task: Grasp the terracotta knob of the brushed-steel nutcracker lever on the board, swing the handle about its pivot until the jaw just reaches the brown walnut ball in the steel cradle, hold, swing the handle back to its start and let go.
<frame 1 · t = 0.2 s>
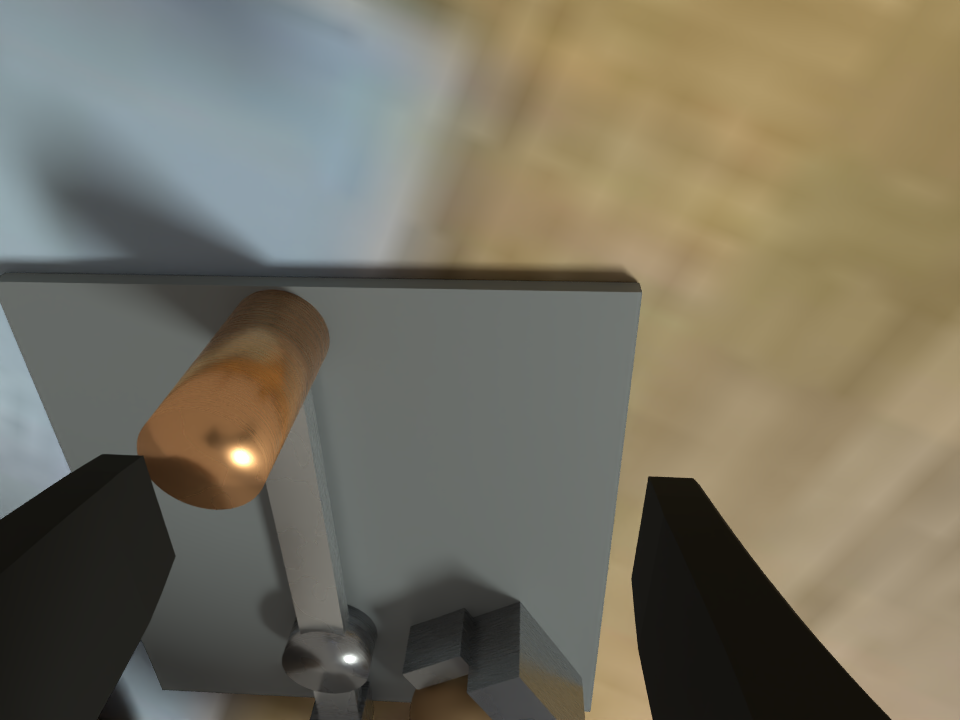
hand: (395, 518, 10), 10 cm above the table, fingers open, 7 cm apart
lever: (297, 611, 22), point 3 cm above the table, hinge at 0.0°
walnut: (462, 669, 27), point 1 cm above the table, touching board
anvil: (529, 648, 26), resting on board
board: (350, 524, 24), on the table
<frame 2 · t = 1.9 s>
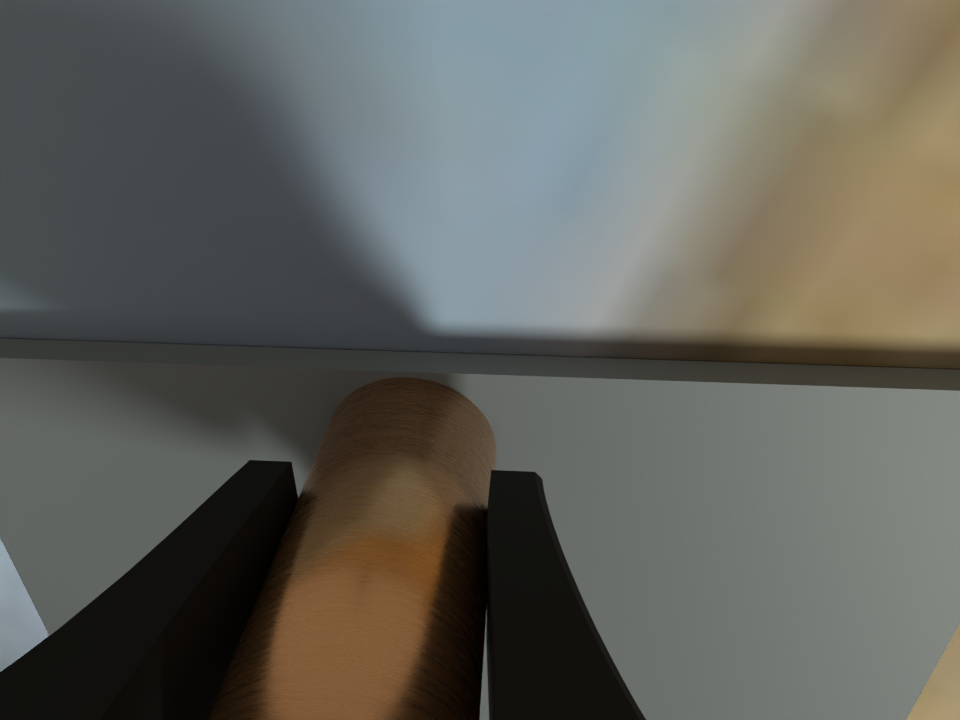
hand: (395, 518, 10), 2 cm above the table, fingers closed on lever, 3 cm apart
board: (475, 705, 16), on the table
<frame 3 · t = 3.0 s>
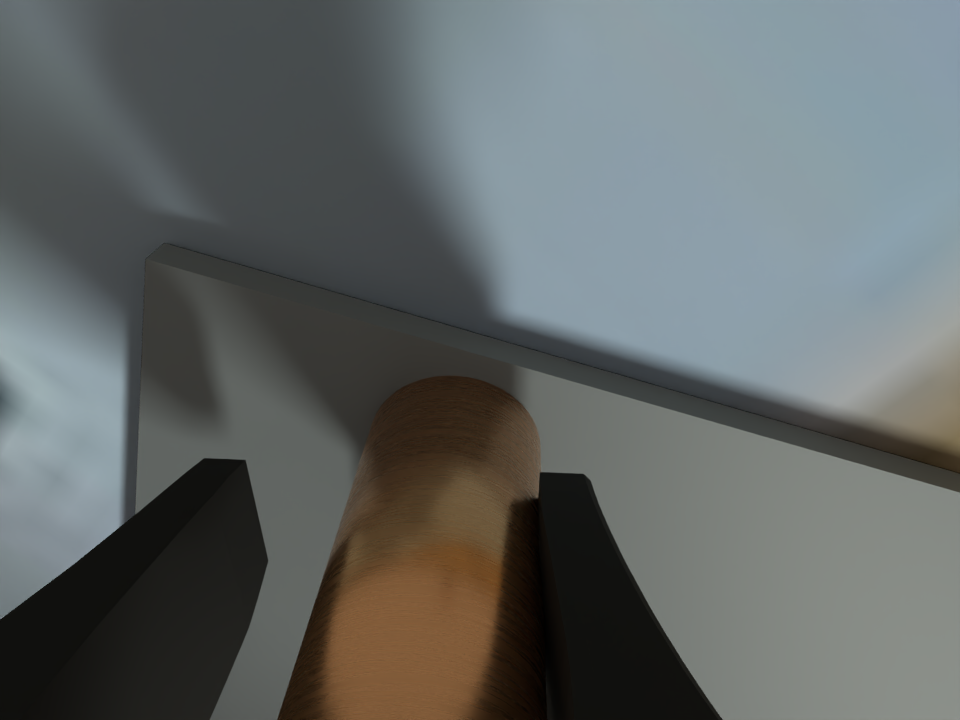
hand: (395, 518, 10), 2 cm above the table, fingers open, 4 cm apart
board: (529, 717, 16), on the table
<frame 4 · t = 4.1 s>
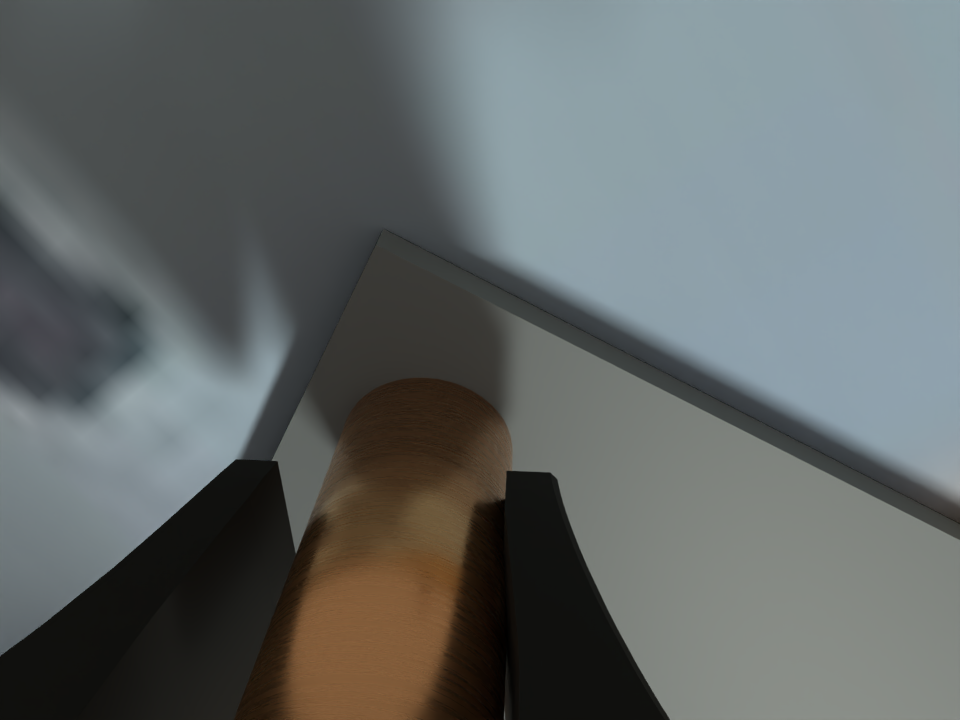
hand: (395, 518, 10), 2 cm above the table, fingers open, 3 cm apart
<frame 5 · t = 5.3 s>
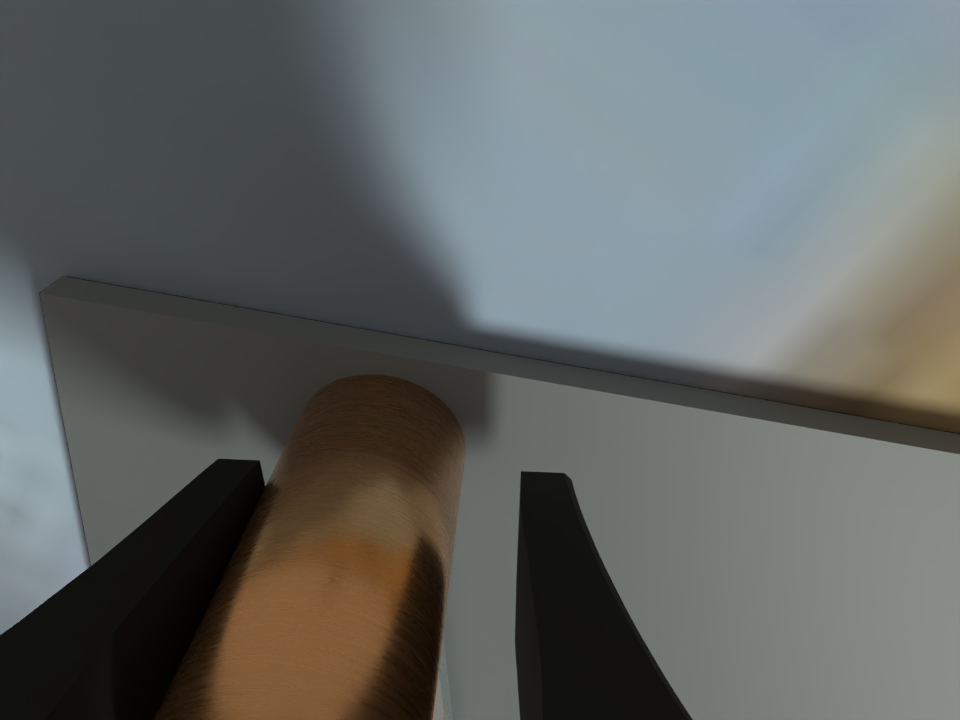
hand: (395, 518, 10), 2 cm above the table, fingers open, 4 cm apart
board: (513, 711, 16), on the table
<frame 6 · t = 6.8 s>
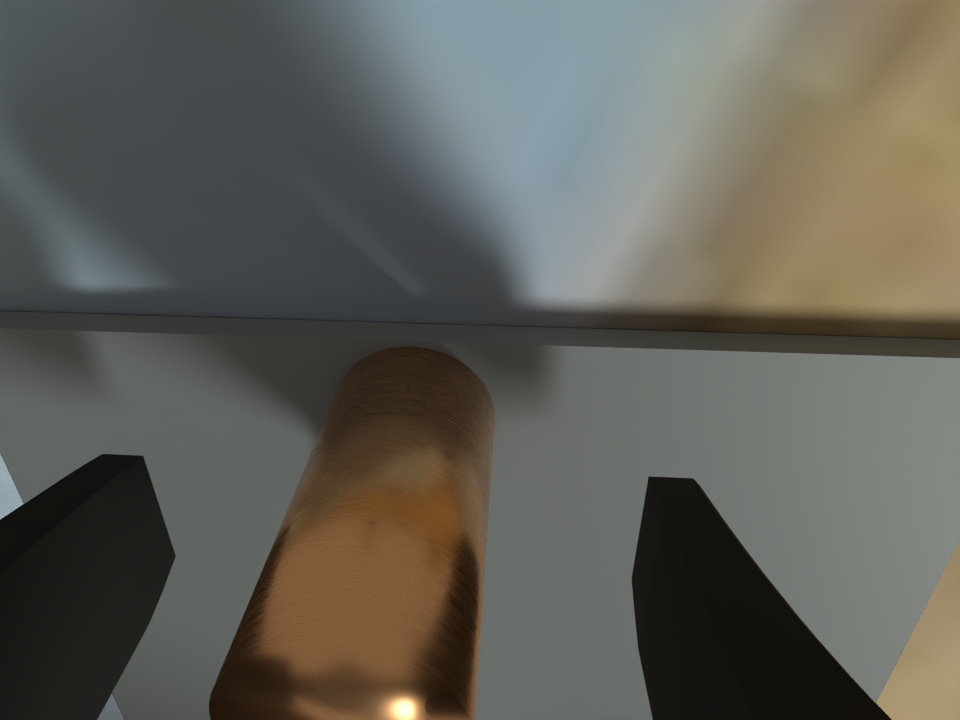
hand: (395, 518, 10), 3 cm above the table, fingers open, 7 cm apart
board: (476, 669, 17), on the table
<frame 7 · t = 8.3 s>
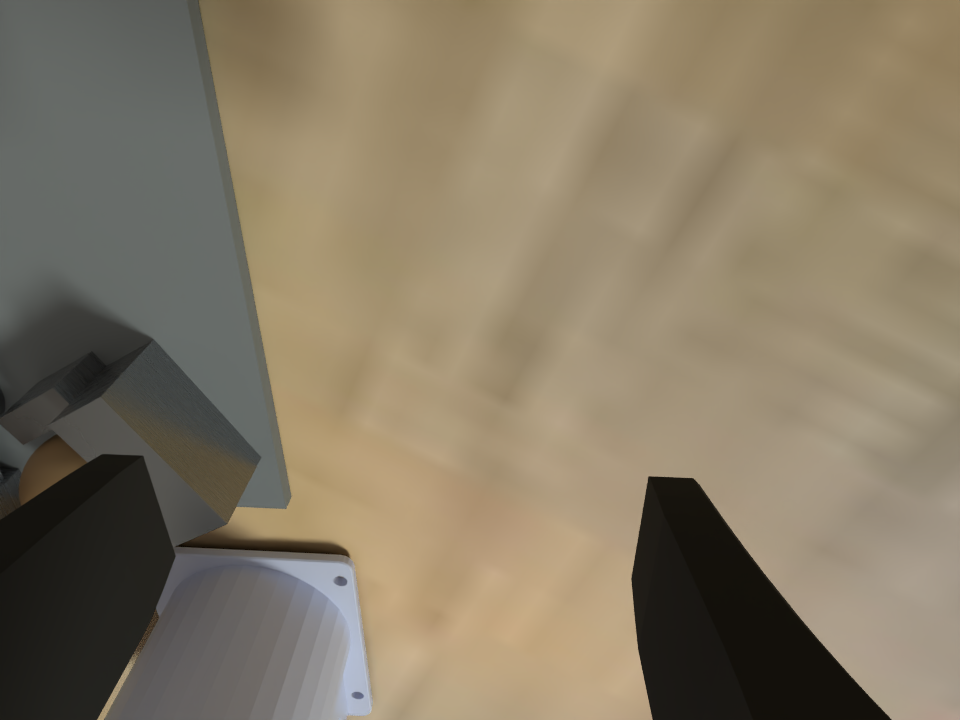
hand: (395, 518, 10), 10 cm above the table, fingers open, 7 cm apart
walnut: (119, 447, 23), point 1 cm above the table, touching board
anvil: (186, 413, 22), resting on board
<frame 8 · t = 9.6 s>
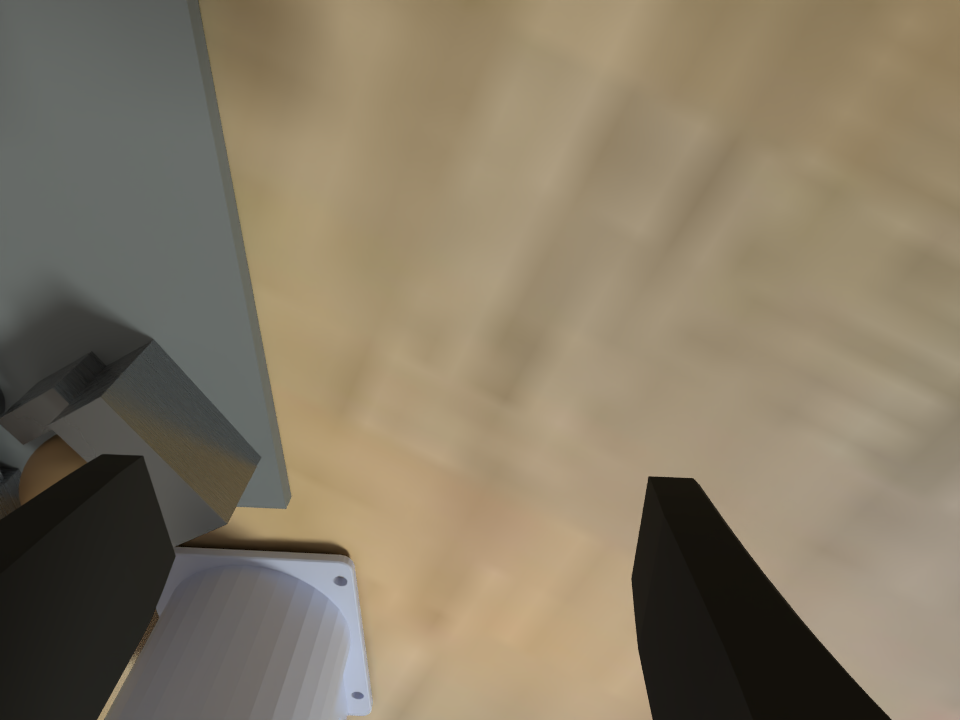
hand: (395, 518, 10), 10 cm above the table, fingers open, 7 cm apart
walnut: (119, 447, 23), point 1 cm above the table, touching board
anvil: (186, 413, 22), resting on board
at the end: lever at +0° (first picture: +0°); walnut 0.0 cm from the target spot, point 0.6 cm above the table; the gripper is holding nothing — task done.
